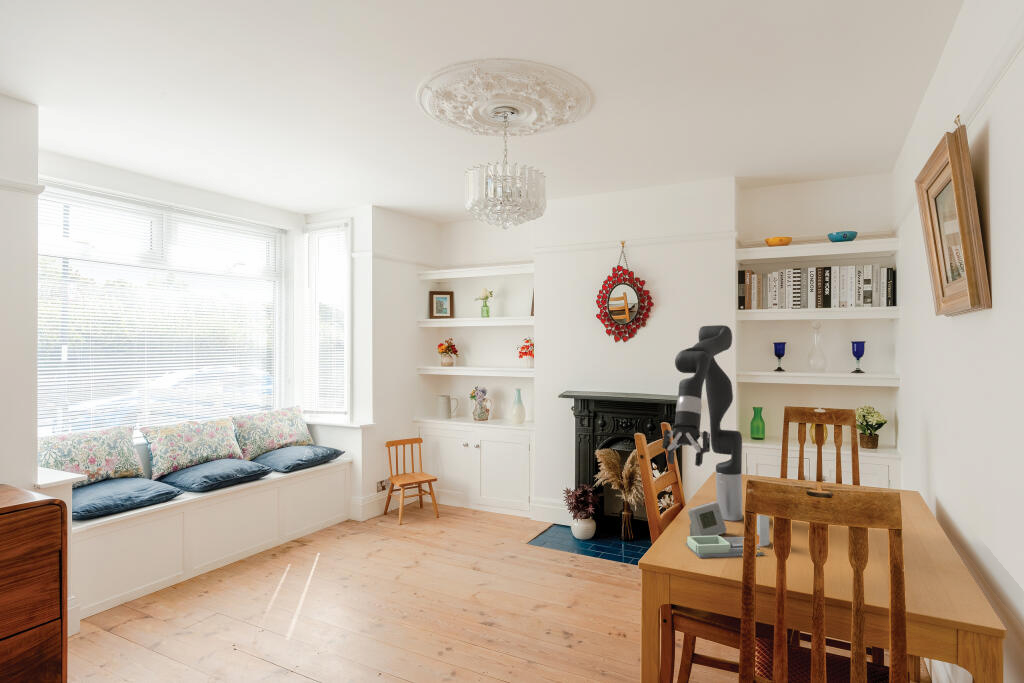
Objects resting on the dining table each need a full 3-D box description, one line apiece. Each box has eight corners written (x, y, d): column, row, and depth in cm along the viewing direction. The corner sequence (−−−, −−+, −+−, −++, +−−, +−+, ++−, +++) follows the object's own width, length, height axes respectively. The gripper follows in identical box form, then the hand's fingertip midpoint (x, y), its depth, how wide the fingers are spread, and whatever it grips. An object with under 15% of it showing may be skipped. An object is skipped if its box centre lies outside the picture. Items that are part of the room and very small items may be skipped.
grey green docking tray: (684, 545, 191) (684, 535, 191) (745, 542, 192) (745, 532, 192) (699, 558, 179) (699, 547, 179) (763, 555, 180) (763, 545, 180)
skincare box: (746, 541, 193) (745, 505, 193) (755, 539, 195) (754, 504, 195) (760, 547, 188) (759, 510, 188) (770, 545, 189) (769, 508, 190)
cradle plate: (723, 539, 189) (723, 537, 189) (743, 539, 189) (742, 536, 189) (732, 546, 182) (732, 544, 182) (752, 545, 183) (752, 543, 183)
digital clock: (698, 544, 192) (698, 511, 192) (679, 536, 200) (679, 505, 200) (734, 536, 199) (733, 505, 199) (714, 529, 207) (714, 499, 207)
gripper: (715, 415, 178) (711, 468, 173) (672, 414, 187) (667, 465, 183) (705, 410, 173) (701, 464, 168) (661, 409, 182) (656, 461, 177)
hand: (684, 464), depth 175 cm, fingers open, 8 cm apart
